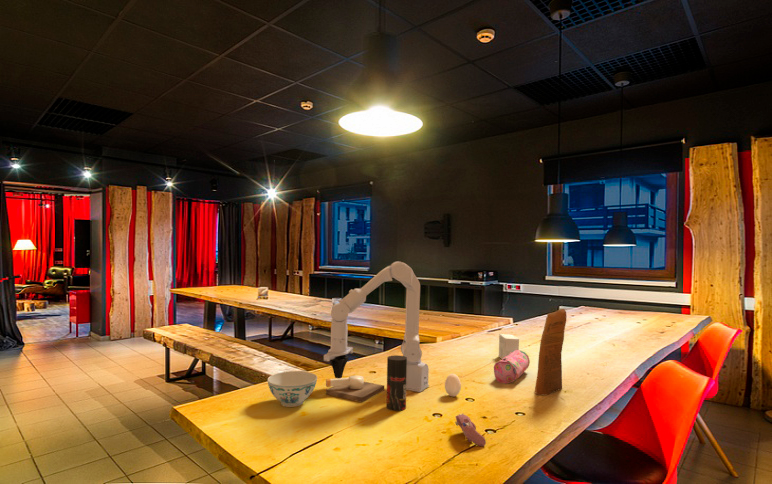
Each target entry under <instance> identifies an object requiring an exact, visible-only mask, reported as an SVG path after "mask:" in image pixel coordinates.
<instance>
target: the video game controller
mask: <svg viewBox="0 0 772 484" xmlns="http://www.w3.org/2000/svg"><path fill="white" fill-rule="evenodd" d="M455 420H456V421H454V422H455V425H456V426H457V427H458V426H459V427H460V429H461V430H462V432H463V435H464V439H465V440H467V441H468V443H470V442H471V443H473V444H475V445H477V446H478V447H485V445H486V443H487V440H486V439H485V437H484V436H483V435H482V434H480V432H478V430H477V426H476V425H475V424H474V422H473V421H472V419H471V418H470V417H469V416H468V415H466V414H464V413H459V414H458V415H456V416H455Z"/></svg>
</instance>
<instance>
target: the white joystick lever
mask: <svg viewBox="0 0 772 484" xmlns="http://www.w3.org/2000/svg"><path fill="white" fill-rule="evenodd" d="M364 382H365V380H364V376H362V375H350V376H348V377H342V378H326V379H325V386H326V388H331V387H333V386H343V385H348V387H349V388H351V389H361V388H363V383H364Z"/></svg>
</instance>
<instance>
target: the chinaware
mask: <svg viewBox="0 0 772 484" xmlns="http://www.w3.org/2000/svg"><path fill="white" fill-rule="evenodd" d="M317 380H318V376H317V375H316V374H315V373H313V372H309V371H301V370H291V371H289V370H288V371H282V372H277V373H274V374H272V375H270V376H269V377H268V378H267V385H268V389H269V392H270V393H271V394H272V396H273V397H274V398H275V399H276V400H277V401H279V402H280V405H281V406H283V407H288V408H291V407H292V408H293V407H299V406H301V405H303V404H304V401H305V400H307V398H309V397H310V396H311V394H312V393H313V392H314V390H315V387H316V385H317Z"/></svg>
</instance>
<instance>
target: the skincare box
mask: <svg viewBox="0 0 772 484" xmlns="http://www.w3.org/2000/svg"><path fill="white" fill-rule="evenodd" d="M498 341H499V342H498V358H499V357H500V358H501V359H503V358H504V357H505V356H508V355H509V354H510V352H512V351H514V350H520V349H519V347H520V339H519V338H518V337H516V336H515V335H514V334H510V333H509V334H508V333H507V334H506V333H504V334H503V333H499V335H498ZM500 358H499V359H500ZM501 359H500V360H501Z"/></svg>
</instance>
